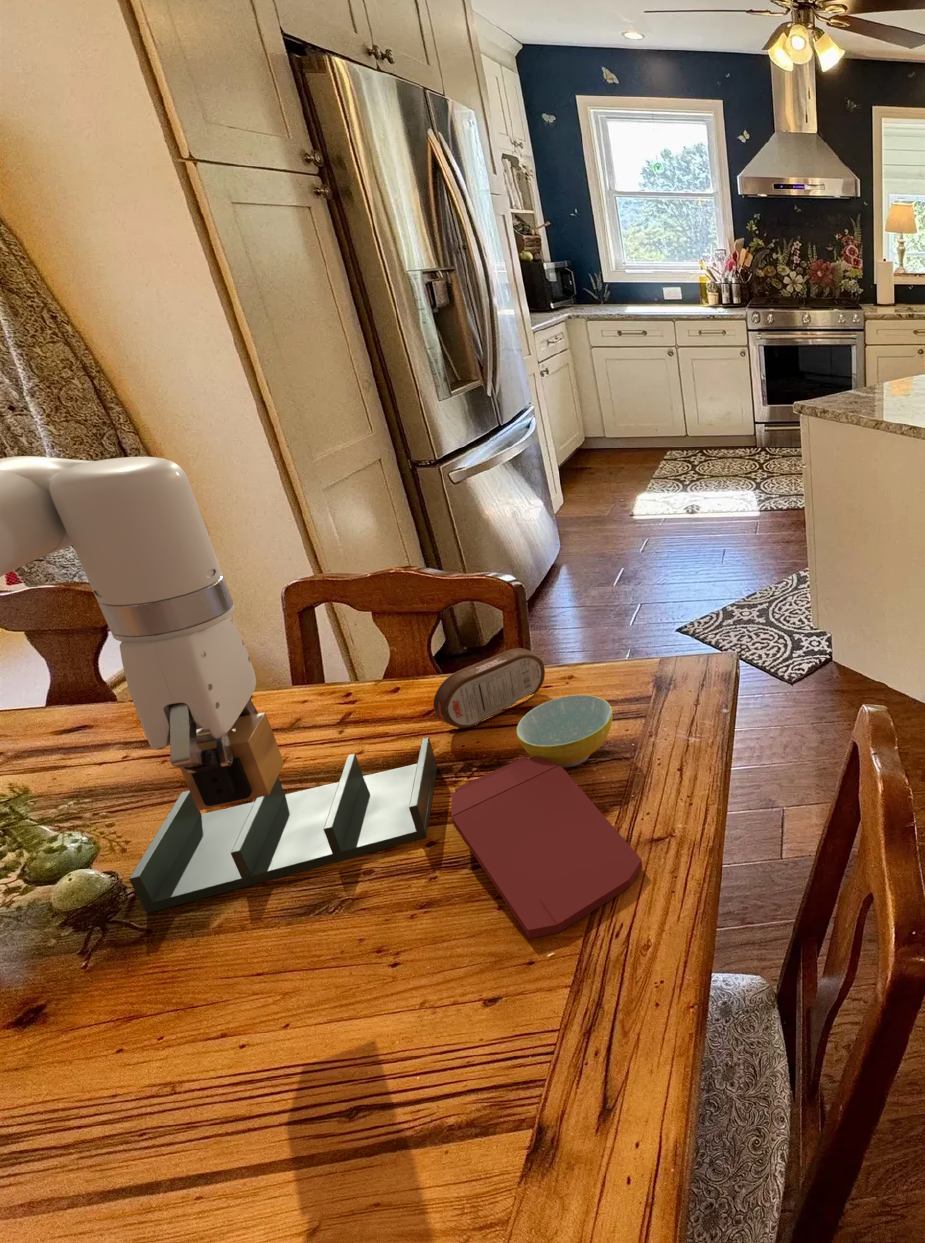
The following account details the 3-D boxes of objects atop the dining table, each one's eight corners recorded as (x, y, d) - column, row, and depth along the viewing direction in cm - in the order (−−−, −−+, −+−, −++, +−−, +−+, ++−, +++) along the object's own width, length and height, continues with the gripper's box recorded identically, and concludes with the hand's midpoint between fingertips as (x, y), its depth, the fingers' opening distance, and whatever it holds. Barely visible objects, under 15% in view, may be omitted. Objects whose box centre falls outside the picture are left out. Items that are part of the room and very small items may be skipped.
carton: (650, 896, 82) (545, 771, 95) (648, 867, 80) (541, 742, 93) (539, 969, 73) (441, 820, 87) (534, 939, 71) (434, 790, 84)
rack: (146, 914, 74) (128, 879, 73) (196, 824, 86) (181, 792, 84) (426, 837, 85) (417, 805, 83) (437, 766, 96) (429, 736, 94)
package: (198, 811, 65) (174, 756, 63) (218, 777, 70) (196, 724, 67) (269, 795, 67) (248, 741, 65) (284, 763, 72) (265, 711, 69)
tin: (540, 685, 114) (531, 637, 111) (552, 691, 113) (543, 643, 110) (439, 733, 103) (425, 682, 99) (451, 741, 101) (437, 689, 98)
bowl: (587, 790, 92) (579, 750, 90) (505, 779, 94) (495, 739, 92) (634, 736, 103) (628, 699, 100) (559, 727, 105) (552, 690, 102)
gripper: (154, 574, 67) (221, 739, 74) (52, 663, 53) (146, 856, 60) (259, 562, 70) (313, 721, 77) (189, 643, 56) (263, 829, 63)
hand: (240, 778), depth 68 cm, fingers closed on package, 5 cm apart
